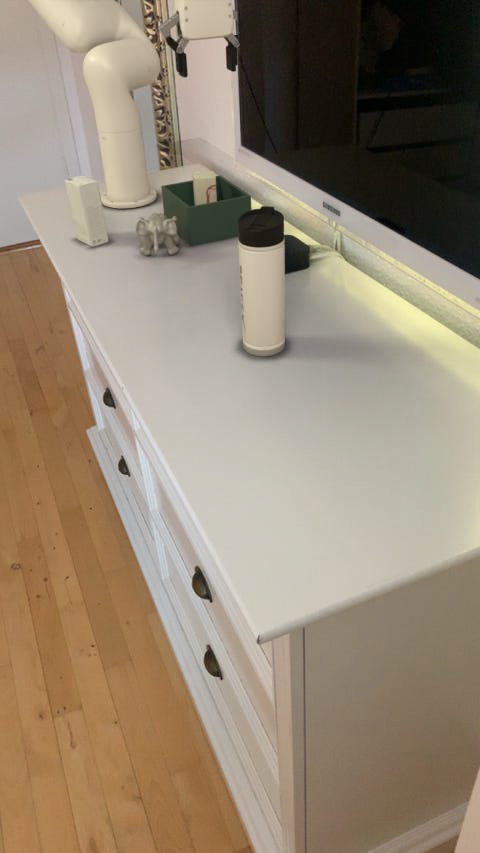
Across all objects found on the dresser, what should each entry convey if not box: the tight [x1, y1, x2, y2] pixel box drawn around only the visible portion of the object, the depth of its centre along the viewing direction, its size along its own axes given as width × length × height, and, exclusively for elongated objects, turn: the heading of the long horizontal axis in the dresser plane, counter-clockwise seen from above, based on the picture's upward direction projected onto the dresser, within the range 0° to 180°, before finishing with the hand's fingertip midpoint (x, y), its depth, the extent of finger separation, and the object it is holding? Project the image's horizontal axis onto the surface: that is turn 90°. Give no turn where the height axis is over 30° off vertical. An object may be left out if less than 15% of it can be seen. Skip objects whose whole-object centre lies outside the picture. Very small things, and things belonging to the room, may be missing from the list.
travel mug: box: [237, 205, 286, 357], centre depth 98 cm, size 6×7×20 cm
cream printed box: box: [191, 170, 217, 206], centre depth 141 cm, size 5×4×10 cm
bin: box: [160, 174, 252, 247], centre depth 142 cm, size 15×13×8 cm
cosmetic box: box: [64, 175, 110, 248], centre depth 137 cm, size 6×4×12 cm
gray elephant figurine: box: [135, 212, 181, 256], centre depth 131 cm, size 9×12×8 cm
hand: (207, 73), depth 132 cm, fingers open, 9 cm apart
